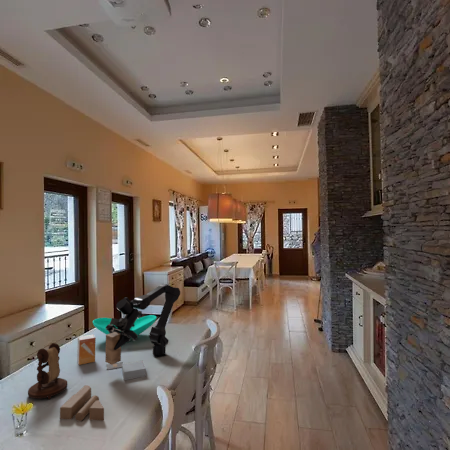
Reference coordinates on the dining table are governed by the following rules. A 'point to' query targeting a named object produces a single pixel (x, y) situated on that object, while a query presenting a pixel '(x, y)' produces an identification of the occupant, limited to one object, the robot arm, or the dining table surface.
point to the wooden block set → (82, 406)
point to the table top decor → (139, 327)
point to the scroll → (48, 374)
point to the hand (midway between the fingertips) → (110, 348)
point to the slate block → (133, 370)
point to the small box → (86, 349)
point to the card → (114, 366)
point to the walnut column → (112, 348)
